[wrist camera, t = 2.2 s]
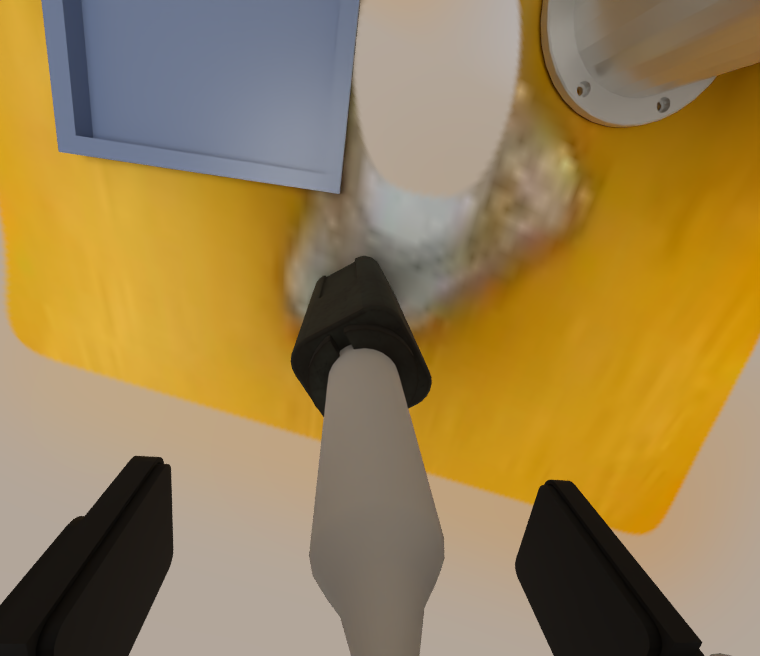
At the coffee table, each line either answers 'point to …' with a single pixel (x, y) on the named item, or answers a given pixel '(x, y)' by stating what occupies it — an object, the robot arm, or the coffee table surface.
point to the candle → (369, 462)
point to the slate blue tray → (206, 85)
